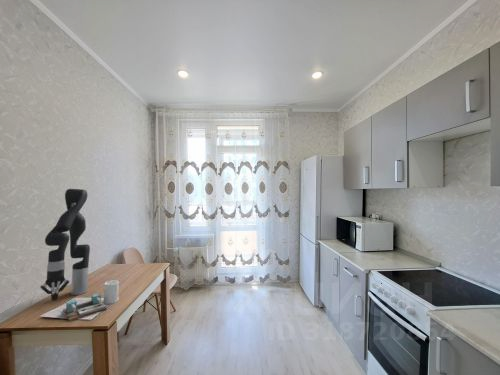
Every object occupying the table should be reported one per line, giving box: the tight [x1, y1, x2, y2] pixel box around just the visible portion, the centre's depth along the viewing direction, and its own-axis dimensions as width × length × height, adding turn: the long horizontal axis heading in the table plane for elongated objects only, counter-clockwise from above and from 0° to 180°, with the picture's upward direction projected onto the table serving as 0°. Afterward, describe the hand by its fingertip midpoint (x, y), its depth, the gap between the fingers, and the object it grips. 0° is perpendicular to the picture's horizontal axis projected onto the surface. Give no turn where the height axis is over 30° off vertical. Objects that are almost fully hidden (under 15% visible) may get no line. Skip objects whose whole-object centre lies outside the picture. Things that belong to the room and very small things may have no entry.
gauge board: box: [62, 300, 107, 323], centre depth 138 cm, size 16×18×3 cm
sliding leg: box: [65, 299, 78, 313], centre depth 134 cm, size 10×4×5 cm, turn 49°
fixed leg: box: [90, 292, 102, 305], centre depth 144 cm, size 10×4×5 cm, turn 49°
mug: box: [102, 279, 120, 305], centre depth 153 cm, size 12×8×12 cm
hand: (54, 300), depth 130 cm, fingers closed
